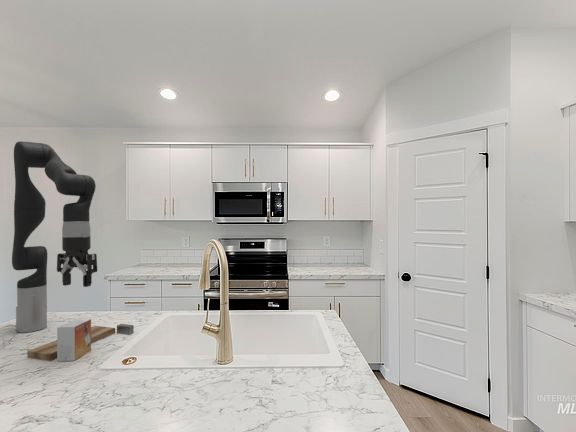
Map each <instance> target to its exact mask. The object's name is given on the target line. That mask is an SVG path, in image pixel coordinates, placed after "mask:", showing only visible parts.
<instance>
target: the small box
mask: <svg viewBox="0 0 576 432" xmlns="http://www.w3.org/2000/svg"><path fill="white" fill-rule="evenodd" d="M91 327H92V319H91V318H83V319H82V318H81V319H79V318H78V319H73V320H72V321H69V322H67V323H64V324H62V325H61V326H58V327H57V329H56V332H57V333H56V338H57V339H56V340H57V358H56V359H57V360H56V361H57V362H75V361H77V360H78V359H80V358H82V356H84V355H86V354H88V353H90V352H91V351H92V343H91Z"/></svg>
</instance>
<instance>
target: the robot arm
mask: <svg viewBox="0 0 576 432" xmlns="http://www.w3.org/2000/svg"><path fill="white" fill-rule="evenodd" d="M13 165H14V166H13V167H14V179H15V180H14V181H15V183H14V185H15V186H14V187H15V188H14V201H13V205H14V206H13V222H14V223H13V225H14V227H13V228H14V229H13V230H14V233H13V243H12V252H11V254H12V255H11V266H12V268H13V270H15V271H29V270H36V271H35V272H33V273H32V274H30V275H27V276H25V277H23V278H20V279H19V280H17V284H16V297H17V299H16V304H17V306H15V330H16V332H17V333H23V334H24V333H31V332H36V331H40V330H43V329H45V328H47V327H48V305H47V304H48V290H47V289H48V288H47V287H48V285H47V283H48V280H47V279H48V278H47V275H48V274H47V269H48V249H47V247H45V246H44V245H36V246H25V245H26V242H27V240H28V239H29V237H30V236H31V235H32V233H33V232H34V231H35V230H36V229H37V228H38V227H39V226H40V225H41V224H42V222H43V221H44V220H45V217H46V207H47V206H46V200H45V199H46V198H44V196H43V194H42V193H41V191H40V190H39V189H38V188H37V187H36V185H35V184H34V183H33V181H32V180H31V179H32V178H31V177H30V174H29V168H35V169H44V172H45V176H47V178H48V179H49V180H51V181H52V182H53V183H54V186H55V189H56V191H57V192H58V193H59V194H61V195H63V196H69V197H70V196H71V197H73V196H75V197H79V198H78V200H77V201H76V202H70V203H65V204H64V205H63V207H62V222H63V223H62V228H61V237H62V239H61V242H62V243H61V244H62V246H61V248H62V251H63V252H62V253H57V255H56V256H57V257H56V258H57V259H56V272H58V273H60V274H61V275H62V282H61V283H62V285H63V286H70V285H71V284H72V270H73V269H75V268H77V269H78V270H80V271H81V272H82V286H83V288H87V287H90V286H92V282H93V281H92V275H93V274H94V273H97V272H98V261H97V259H98V257H97V253H89V250H90V249H91V248H92V247H91V224H90V210H91V209H90V208H91V205H92V201H93V198H94V194H95V192H96V188H97V187H96V180H94V178H93V177H92V176H90V175H86V174H79V173H77V172H76V171H75V169H74V168H72V167H71V166H69V165H68V164H67V163H65V162H64V161H63V160H62V158H60V156H59V154H58V153H57V152H56V151H55V149H54V148H53V147H51V146H50V145H49V144H46V143H41V142H33V141H20V140H19V141H17V142H15V145H14V147H13Z"/></svg>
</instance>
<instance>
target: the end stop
mask: <svg viewBox="0 0 576 432" xmlns="http://www.w3.org/2000/svg"><path fill="white" fill-rule="evenodd" d="M134 328H135V327H134V325H133V324H127V323H119V324H117V325H116V334H117V335H118V334H119V335H126V336H130V335H132V334H134Z"/></svg>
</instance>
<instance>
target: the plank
mask: <svg viewBox="0 0 576 432" xmlns="http://www.w3.org/2000/svg"><path fill="white" fill-rule="evenodd" d="M114 334H116V327H111V326H110V327H109V326H104V325H103V326H100V325H93V326H91V344H93V343H94V344H95V342H98V341H102V339H105V338H107V337H110V336H112V335H114ZM26 354H27V356H26V357H27V358H29V359H35V360H42V361H46V362H47V361H48V362H52V361H54V360H56V359H57V339H55V340H53V341H50V342H47V343H44V344H42V345H40V346H37V347H35V348H32V349H30V350H27V353H26Z"/></svg>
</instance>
